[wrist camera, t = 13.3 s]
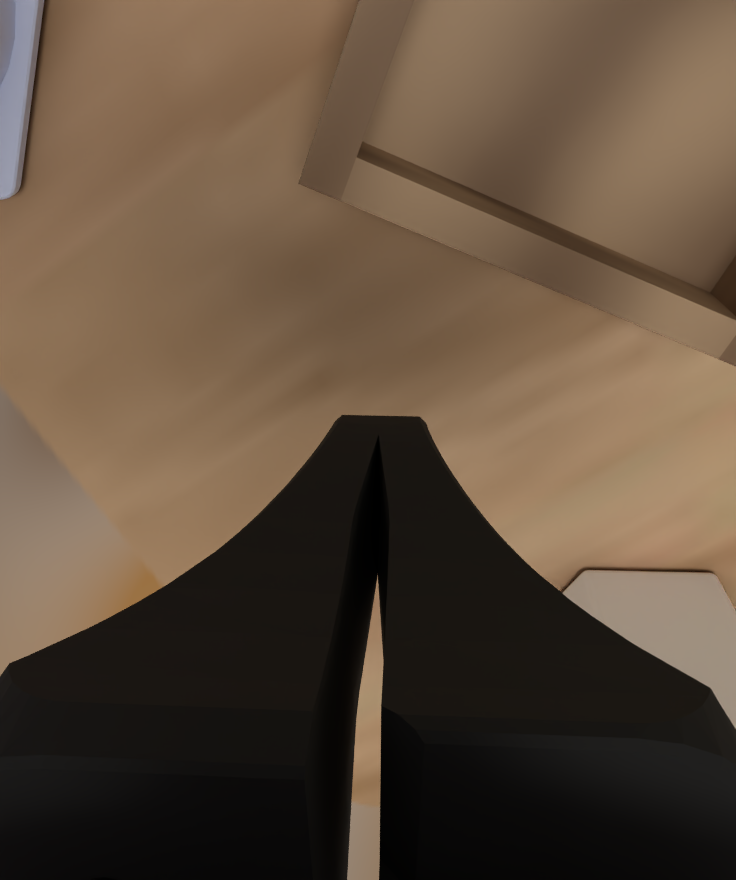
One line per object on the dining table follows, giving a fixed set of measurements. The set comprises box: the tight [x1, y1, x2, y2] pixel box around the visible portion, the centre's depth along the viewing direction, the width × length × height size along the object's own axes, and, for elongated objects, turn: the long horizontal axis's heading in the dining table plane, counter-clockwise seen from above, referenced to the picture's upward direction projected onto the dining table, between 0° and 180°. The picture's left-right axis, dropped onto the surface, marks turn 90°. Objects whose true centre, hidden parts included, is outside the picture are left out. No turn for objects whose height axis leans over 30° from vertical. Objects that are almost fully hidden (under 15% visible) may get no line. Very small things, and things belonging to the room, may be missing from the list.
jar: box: [562, 570, 736, 729], centre depth 22 cm, size 9×8×12 cm
